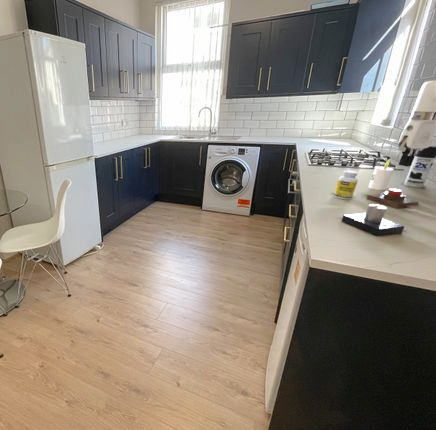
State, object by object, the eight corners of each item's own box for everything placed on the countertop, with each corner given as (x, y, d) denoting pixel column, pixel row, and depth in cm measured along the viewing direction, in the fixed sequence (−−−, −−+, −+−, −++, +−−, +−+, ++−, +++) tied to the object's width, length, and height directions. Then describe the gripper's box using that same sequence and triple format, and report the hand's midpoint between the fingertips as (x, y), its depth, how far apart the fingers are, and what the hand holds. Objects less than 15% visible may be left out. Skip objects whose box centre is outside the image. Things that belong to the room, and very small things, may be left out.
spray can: (402, 187, 138) (418, 146, 130) (403, 184, 142) (419, 144, 134) (421, 190, 133) (439, 147, 125) (422, 187, 137) (440, 146, 130)
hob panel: (401, 233, 90) (404, 226, 89) (376, 236, 88) (379, 228, 87) (364, 219, 101) (366, 212, 100) (341, 221, 99) (343, 214, 98)
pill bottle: (331, 197, 124) (339, 171, 120) (335, 194, 128) (343, 169, 123) (349, 200, 119) (358, 174, 115) (353, 197, 123) (362, 171, 119)
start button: (403, 195, 114) (405, 191, 113) (395, 196, 113) (397, 191, 112) (392, 193, 118) (394, 188, 117) (384, 193, 117) (386, 188, 116)
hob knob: (372, 217, 96) (378, 203, 94) (385, 222, 92) (391, 207, 90) (360, 217, 96) (365, 203, 94) (372, 223, 92) (378, 208, 89)
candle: (364, 187, 137) (375, 157, 132) (381, 188, 135) (392, 157, 130) (370, 191, 132) (382, 159, 126) (388, 192, 130) (400, 160, 124)
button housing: (416, 207, 112) (420, 197, 111) (396, 208, 110) (400, 199, 109) (384, 197, 123) (388, 189, 122) (366, 199, 121) (369, 190, 120)
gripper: (420, 117, 99) (399, 168, 106) (452, 117, 102) (430, 166, 109) (396, 116, 106) (379, 164, 113) (427, 116, 109) (408, 162, 116)
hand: (404, 165), depth 111 cm, fingers closed
